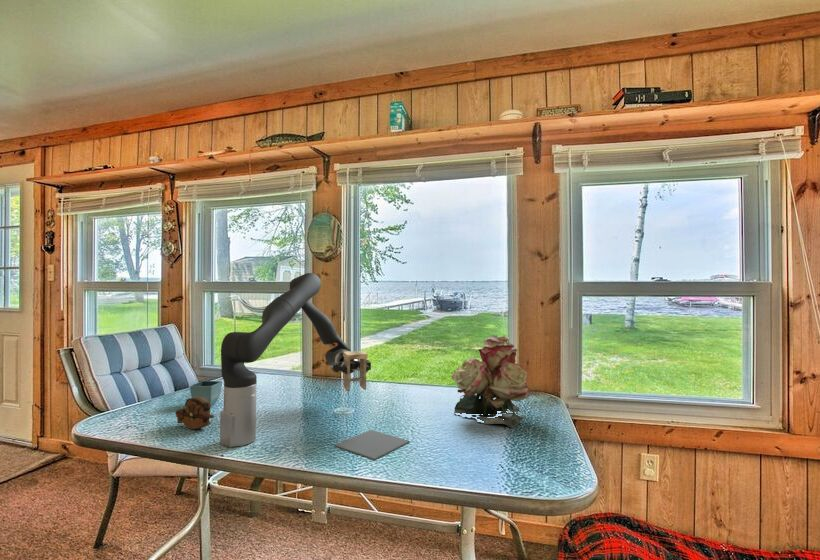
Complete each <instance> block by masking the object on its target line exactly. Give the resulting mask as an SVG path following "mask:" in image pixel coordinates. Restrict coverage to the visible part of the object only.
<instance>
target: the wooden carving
mask: <svg viewBox="0 0 820 560" xmlns="http://www.w3.org/2000/svg"><path fill="white" fill-rule="evenodd" d="M184 404H185V405H184V406H185V407H184V408H181V409H177V410H175V418H177V424H183V425H184V426H185V427H186V428H188V429H191V430H195V429H203V428H206V427H209V426H210V425H211V423H212V422H211V421H210V419H214V418H215V415H214V414H211V407H212V406H211V403H210V402H208V401H207V400H206V399H204V398H202V397H197V398H192V397H190V398H187V399H186V401H185V403H184Z"/></svg>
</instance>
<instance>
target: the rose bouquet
mask: <svg viewBox="0 0 820 560" xmlns="http://www.w3.org/2000/svg"><path fill="white" fill-rule="evenodd" d="M510 340H511V337H508V336H505V335H503V336H498V335H497V334H496V335H494V334H493V335H492V334H490V335H489V337H488V338H485V339H484V340H483V343H484V344H483V345H484V346H482V348H478V350H477V351H478V352H479V357H480V360H479V359H477V358H474V357H471V356H470V357H469V358H468V359H466V360H464V362H462V364H461V365H460V366H459V367H458V368H457V369H456V370H455V371H454V372H453V373H452V375H451V379H452V380H454V382H455V383H456V385H457V388H458V389H457V393H460V394H462V393H463V394H462V395H461V396H460V397H459V401H458V402H456V404H455V406H454V414H455V413H460V414H462V413H466V414H483V415H488V414H497V411H504V412H503V413H506V414H502V416H498V417H495V418H484V417H477V419H480V420H482V421H484V423H482V424H483V425H494V424H499V425H500V424H502V425H506V426H507V427H509V428H511V427H512V429H513V428H514V427H517V426H519V423H520V421H521V420H522V419H526V418H527V416H523V415H524V414H523V411H521V410H520V408H519V406H518V405H515V404H514V403H513V402H518V403H519V402H520V401H523V400H525V399H528V398H529V397H530V394H531V389H530V388H529V387H528V384H527V381H526V380H527V376H528V372H527V371H526V370H525V369H523V366H522V365H520V364H519V363H516V357H517V352H518V349H517V348H515V345H514V344H513V343H510ZM507 409H509V410H510V411H512V412H513V413H507V412H506V411H508V410H507ZM518 411H519V412H520V413H521V415H520V414H519V415H520V416H518V415H516V414H515V413H514V412H518ZM503 419H504V420H503Z"/></svg>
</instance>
